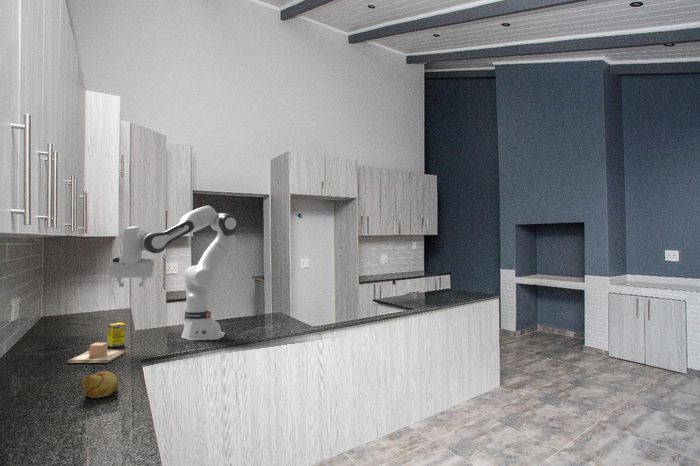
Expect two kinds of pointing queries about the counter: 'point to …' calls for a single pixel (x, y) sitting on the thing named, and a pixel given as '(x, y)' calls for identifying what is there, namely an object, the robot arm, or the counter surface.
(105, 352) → the cube
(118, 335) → the supplement box
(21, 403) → the counter surface
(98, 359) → the board
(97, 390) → the bread roll
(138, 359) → the counter surface
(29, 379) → the counter surface
